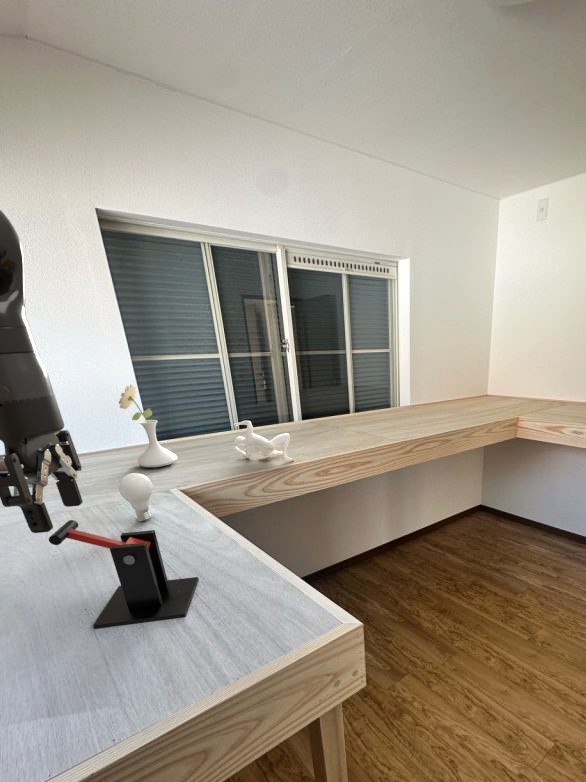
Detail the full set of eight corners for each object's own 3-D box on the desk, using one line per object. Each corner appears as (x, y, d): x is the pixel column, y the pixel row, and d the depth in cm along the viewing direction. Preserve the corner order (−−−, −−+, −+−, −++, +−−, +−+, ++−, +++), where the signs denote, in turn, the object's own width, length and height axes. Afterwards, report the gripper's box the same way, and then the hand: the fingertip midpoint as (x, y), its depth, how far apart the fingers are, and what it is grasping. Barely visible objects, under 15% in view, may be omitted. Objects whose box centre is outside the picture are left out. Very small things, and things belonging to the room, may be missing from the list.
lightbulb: (138, 528, 89) (125, 480, 85) (122, 522, 92) (109, 475, 88) (166, 518, 94) (155, 472, 89) (150, 512, 97) (138, 467, 93)
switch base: (95, 634, 58) (69, 561, 53) (121, 593, 67) (100, 528, 62) (186, 622, 60) (169, 551, 56) (199, 584, 69) (185, 520, 65)
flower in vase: (159, 458, 138) (140, 380, 128) (186, 461, 135) (169, 381, 124) (125, 470, 127) (101, 385, 117) (153, 473, 123) (132, 386, 113)
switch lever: (47, 546, 54) (50, 531, 54) (65, 530, 59) (68, 515, 58) (139, 568, 58) (143, 554, 58) (149, 551, 63) (153, 537, 62)
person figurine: (290, 421, 139) (233, 416, 131) (298, 437, 129) (237, 433, 122) (285, 456, 146) (231, 453, 138) (292, 473, 136) (235, 472, 128)
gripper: (13, 387, 55) (54, 500, 61) (-69, 405, 42) (-6, 545, 49) (76, 385, 56) (110, 496, 63) (15, 401, 44) (65, 538, 50)
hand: (59, 517), depth 56 cm, fingers open, 8 cm apart
